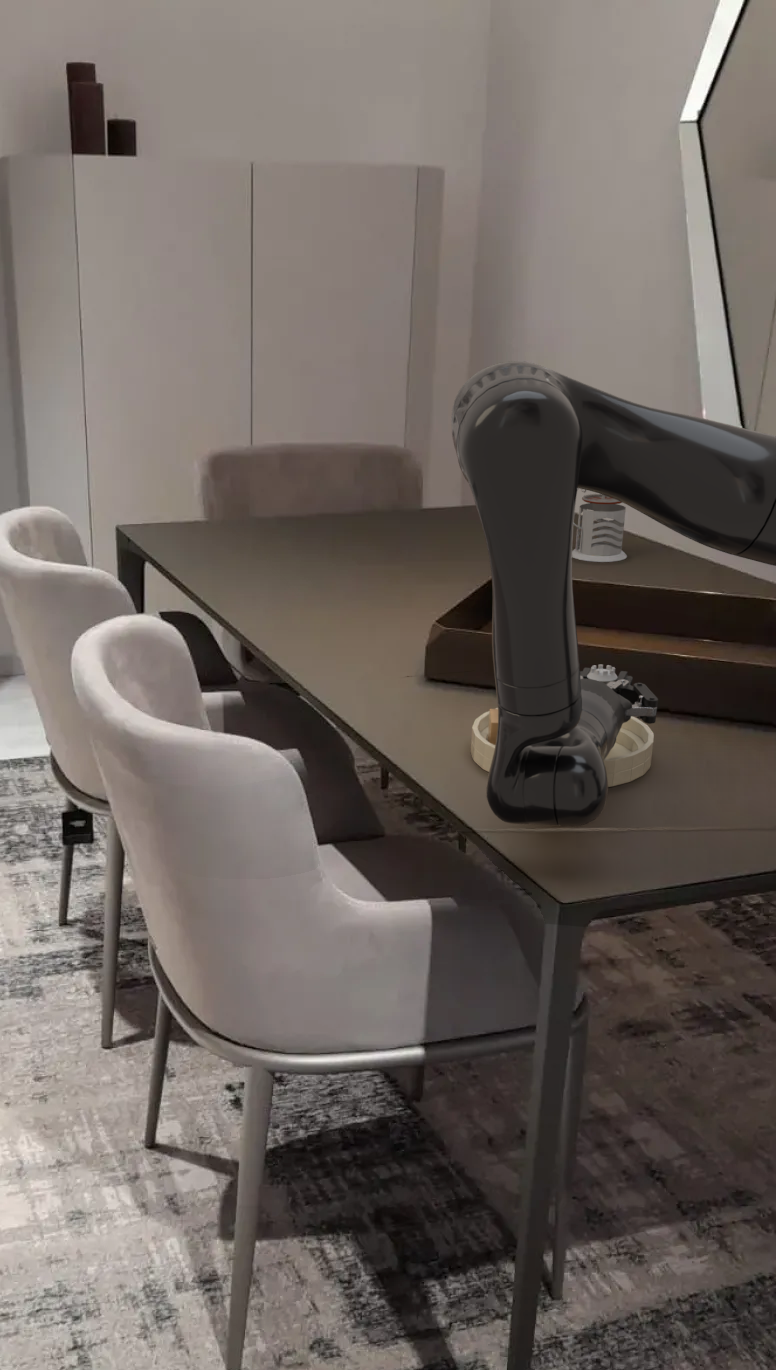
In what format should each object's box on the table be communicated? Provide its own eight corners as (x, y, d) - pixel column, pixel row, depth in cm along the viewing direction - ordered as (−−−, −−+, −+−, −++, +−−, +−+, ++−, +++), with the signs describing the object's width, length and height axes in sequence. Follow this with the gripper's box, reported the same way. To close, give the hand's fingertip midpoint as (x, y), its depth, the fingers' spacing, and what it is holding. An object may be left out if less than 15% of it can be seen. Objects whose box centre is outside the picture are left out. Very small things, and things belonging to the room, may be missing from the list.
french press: (637, 559, 233) (654, 405, 222) (574, 564, 231) (588, 408, 220) (611, 547, 242) (625, 398, 231) (550, 551, 239) (562, 401, 228)
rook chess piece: (616, 733, 151) (624, 663, 148) (617, 747, 147) (625, 675, 144) (575, 731, 152) (581, 660, 148) (575, 744, 148) (581, 672, 144)
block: (528, 748, 152) (531, 709, 150) (530, 762, 148) (534, 723, 146) (487, 747, 152) (489, 708, 150) (488, 761, 148) (491, 722, 146)
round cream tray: (627, 729, 158) (630, 700, 157) (670, 793, 141) (674, 761, 140) (461, 731, 158) (462, 702, 157) (483, 794, 141) (485, 763, 140)
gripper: (656, 698, 131) (676, 650, 145) (510, 683, 135) (543, 638, 150) (647, 772, 134) (667, 718, 149) (505, 755, 139) (538, 704, 153)
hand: (605, 678), depth 149 cm, fingers closed on rook chess piece, 3 cm apart
